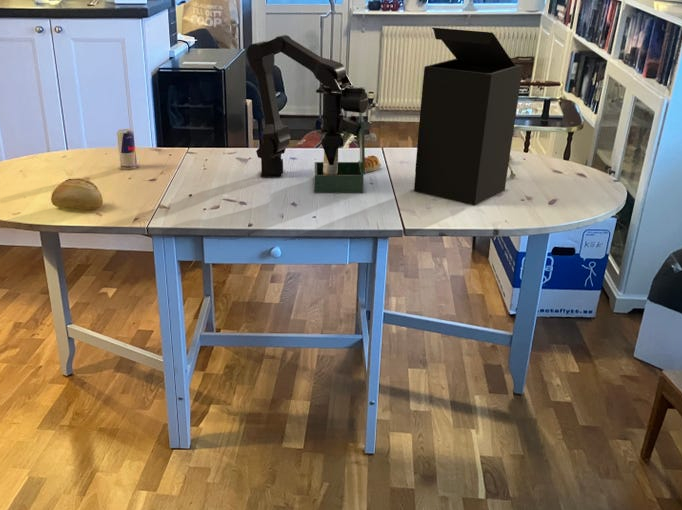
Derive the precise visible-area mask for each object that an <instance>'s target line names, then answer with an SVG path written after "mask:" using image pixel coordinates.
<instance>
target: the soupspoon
mask: <svg viewBox="0 0 682 510" xmlns="http://www.w3.org/2000/svg"><path fill="white" fill-rule="evenodd" d="M515 159H516V158H515V157H513V156H512V155H510V158H509V165H508V169H509V171H510V174H509V178H510V179H515V178H516V176H517V174H515V172H514V170H513V167H512V166H511V164H510V162H511V161H513V160H515Z"/></svg>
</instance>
